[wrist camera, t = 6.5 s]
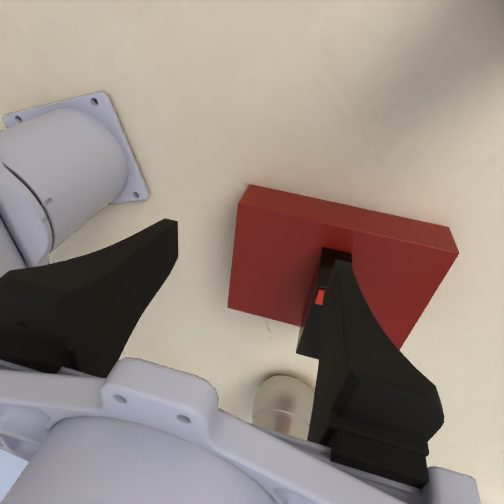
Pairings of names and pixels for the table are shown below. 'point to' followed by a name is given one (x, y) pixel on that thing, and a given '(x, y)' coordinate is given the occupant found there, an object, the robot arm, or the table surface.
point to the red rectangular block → (339, 238)
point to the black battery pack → (317, 302)
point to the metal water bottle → (284, 406)
